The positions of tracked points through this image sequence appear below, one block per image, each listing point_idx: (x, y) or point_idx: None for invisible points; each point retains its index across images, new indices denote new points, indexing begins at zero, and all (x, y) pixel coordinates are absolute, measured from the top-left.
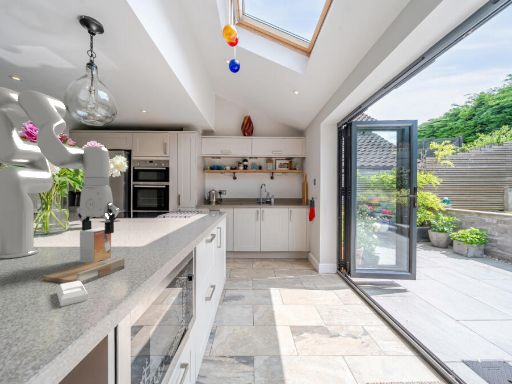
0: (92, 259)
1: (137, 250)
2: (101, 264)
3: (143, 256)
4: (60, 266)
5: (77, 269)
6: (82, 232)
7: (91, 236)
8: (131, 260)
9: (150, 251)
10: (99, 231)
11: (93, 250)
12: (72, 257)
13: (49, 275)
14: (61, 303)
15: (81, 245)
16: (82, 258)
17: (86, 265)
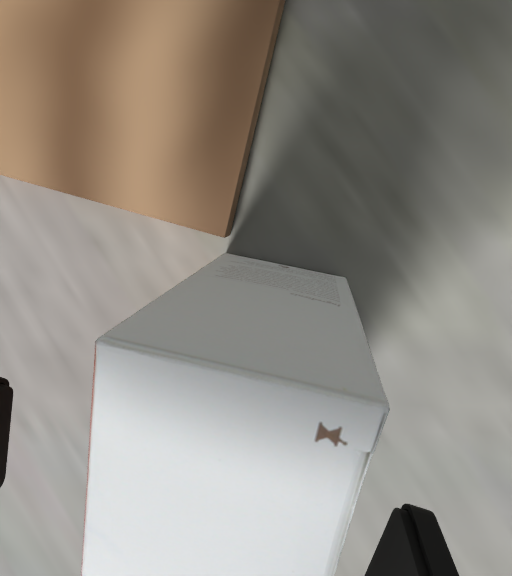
0: (228, 258)
1: None
2: (96, 154)
3: (15, 420)
4: (425, 161)
5: (179, 4)
6: (329, 380)
7: (170, 318)
8: (31, 332)
9: (41, 529)
10: (93, 433)
11: (198, 271)
12: (488, 401)
13: None
14: None
15: (334, 309)
16: (320, 276)
17: (184, 118)
